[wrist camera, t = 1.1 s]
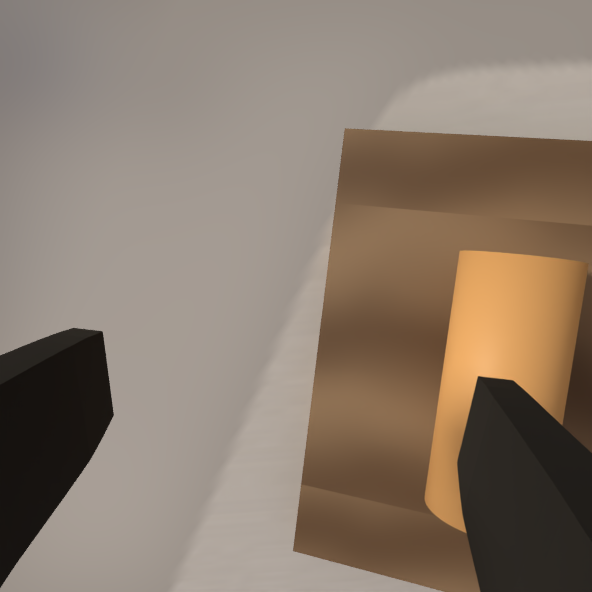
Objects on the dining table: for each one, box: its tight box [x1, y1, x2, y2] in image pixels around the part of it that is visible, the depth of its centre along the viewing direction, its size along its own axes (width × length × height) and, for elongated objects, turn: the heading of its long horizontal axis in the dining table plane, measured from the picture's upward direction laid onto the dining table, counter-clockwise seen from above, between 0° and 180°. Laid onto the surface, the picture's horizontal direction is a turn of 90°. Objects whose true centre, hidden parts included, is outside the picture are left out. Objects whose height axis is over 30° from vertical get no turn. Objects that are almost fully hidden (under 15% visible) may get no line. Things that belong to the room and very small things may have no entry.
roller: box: [424, 250, 589, 533], centre depth 17 cm, size 9×4×4 cm, turn 173°
